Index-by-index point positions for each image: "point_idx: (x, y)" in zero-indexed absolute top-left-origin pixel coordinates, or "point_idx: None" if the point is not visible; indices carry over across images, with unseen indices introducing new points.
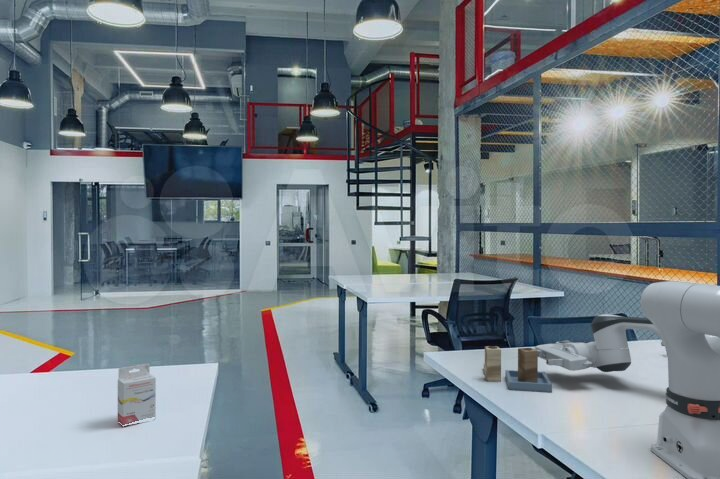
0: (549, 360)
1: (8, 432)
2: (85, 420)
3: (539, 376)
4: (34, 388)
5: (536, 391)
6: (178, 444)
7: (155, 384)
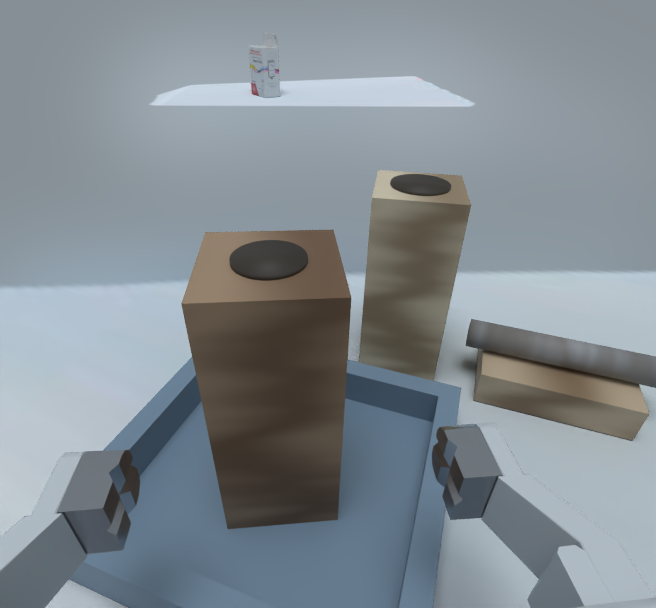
0: (64, 455)
1: None
2: None
3: None
4: (373, 80)
5: None
6: (192, 102)
7: (262, 56)
